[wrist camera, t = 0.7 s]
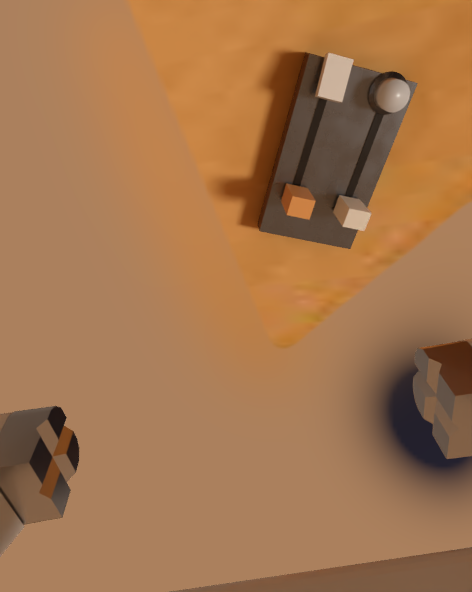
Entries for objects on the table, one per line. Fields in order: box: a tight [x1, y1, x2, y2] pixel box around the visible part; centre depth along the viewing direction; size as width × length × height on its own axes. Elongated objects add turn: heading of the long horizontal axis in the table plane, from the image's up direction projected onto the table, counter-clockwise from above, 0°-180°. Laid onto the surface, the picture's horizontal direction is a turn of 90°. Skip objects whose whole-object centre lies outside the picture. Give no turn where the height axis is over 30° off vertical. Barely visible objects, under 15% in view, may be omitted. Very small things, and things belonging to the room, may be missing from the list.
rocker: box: [315, 53, 354, 103], centre depth 40 cm, size 4×2×1 cm, turn 167°
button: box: [374, 78, 410, 113], centre depth 42 cm, size 3×3×2 cm
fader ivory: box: [333, 195, 371, 231], centre depth 47 cm, size 2×2×4 cm
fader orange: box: [281, 183, 316, 220], centre depth 46 cm, size 2×2×4 cm
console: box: [258, 52, 417, 249], centre depth 47 cm, size 18×11×3 cm, turn 167°
